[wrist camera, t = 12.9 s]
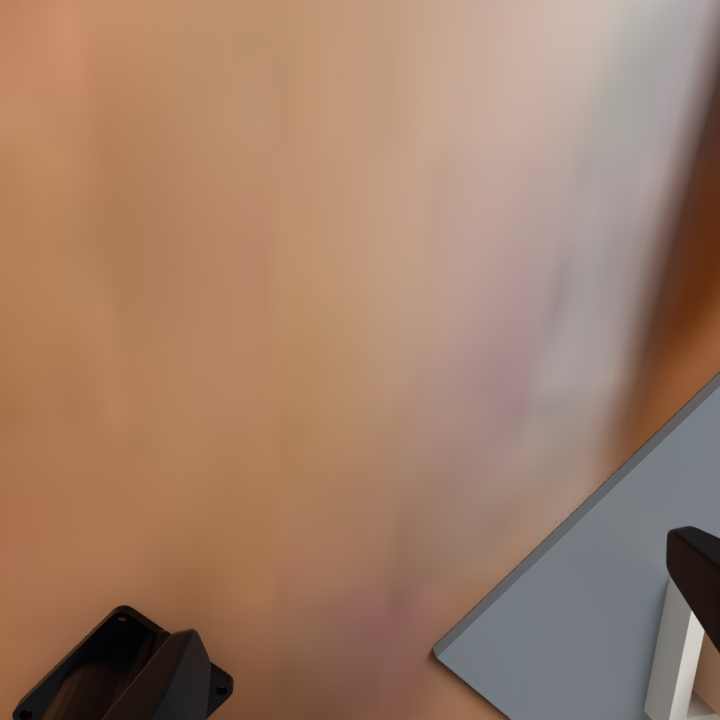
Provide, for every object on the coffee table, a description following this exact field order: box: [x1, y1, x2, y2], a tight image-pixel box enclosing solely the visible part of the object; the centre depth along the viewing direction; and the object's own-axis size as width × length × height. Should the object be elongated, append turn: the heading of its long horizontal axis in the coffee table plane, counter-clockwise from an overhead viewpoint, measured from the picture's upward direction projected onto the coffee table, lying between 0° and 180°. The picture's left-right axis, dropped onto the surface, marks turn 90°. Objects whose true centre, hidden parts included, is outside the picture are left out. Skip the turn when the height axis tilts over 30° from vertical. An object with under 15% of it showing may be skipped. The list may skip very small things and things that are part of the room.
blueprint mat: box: [433, 373, 720, 720], centre depth 25 cm, size 20×19×2 cm
